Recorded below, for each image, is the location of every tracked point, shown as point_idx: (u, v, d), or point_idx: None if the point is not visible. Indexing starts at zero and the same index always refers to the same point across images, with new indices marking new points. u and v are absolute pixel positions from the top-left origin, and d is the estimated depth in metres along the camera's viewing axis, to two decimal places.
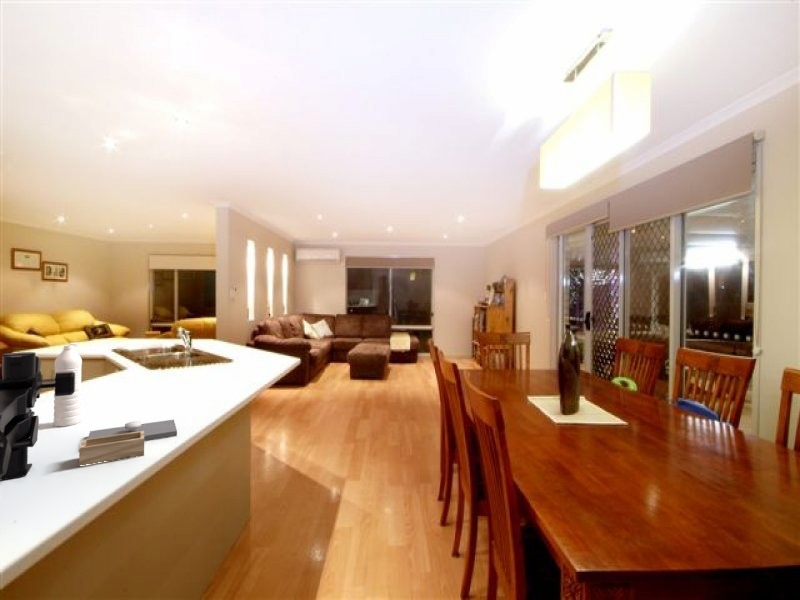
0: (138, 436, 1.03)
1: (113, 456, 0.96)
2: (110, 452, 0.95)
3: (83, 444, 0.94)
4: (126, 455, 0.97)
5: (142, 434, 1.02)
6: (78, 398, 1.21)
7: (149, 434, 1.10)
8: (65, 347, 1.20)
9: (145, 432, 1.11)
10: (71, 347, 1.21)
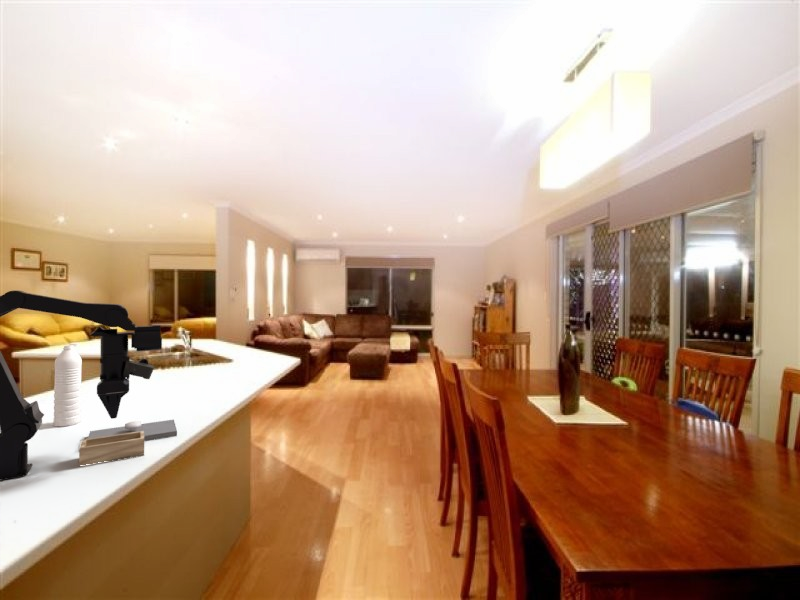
0: (138, 436, 1.03)
1: (113, 456, 0.96)
2: (110, 452, 0.95)
3: (83, 444, 0.94)
4: (126, 455, 0.97)
5: (142, 434, 1.02)
6: (78, 398, 1.21)
7: (149, 434, 1.10)
8: (65, 347, 1.20)
9: (145, 432, 1.11)
10: (71, 347, 1.21)
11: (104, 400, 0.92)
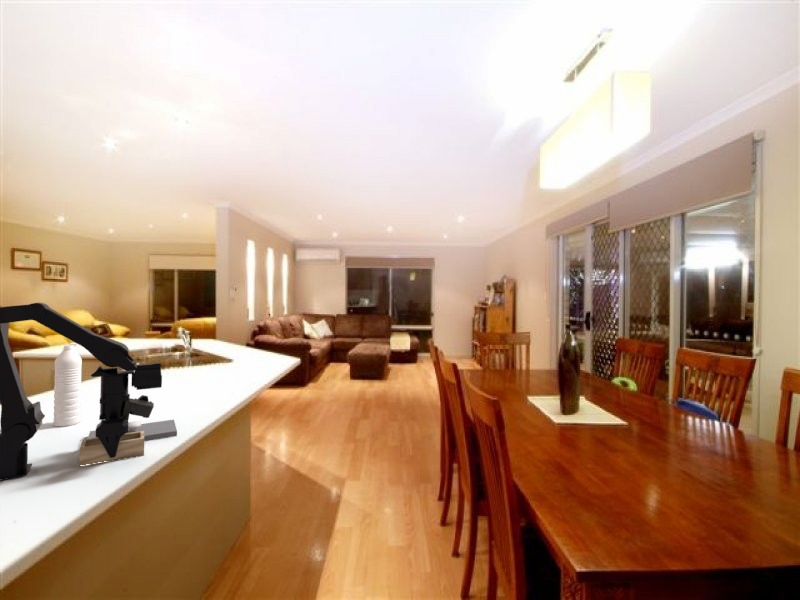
0: (138, 436, 1.03)
1: None
2: None
3: (83, 444, 0.94)
4: (126, 455, 0.97)
5: (142, 434, 1.02)
6: (78, 398, 1.21)
7: (149, 434, 1.10)
8: (65, 347, 1.20)
9: (145, 432, 1.11)
10: (71, 347, 1.21)
11: (103, 440, 0.93)
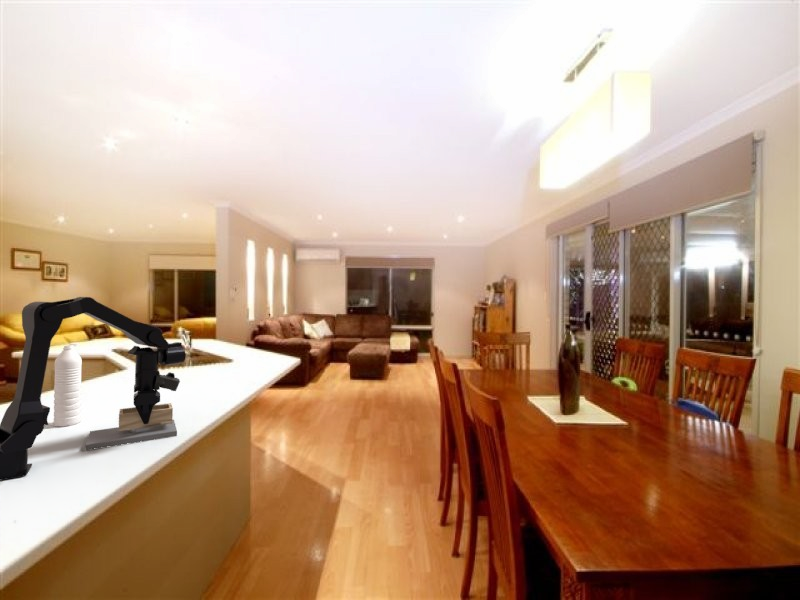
0: (166, 407, 1.19)
1: None
2: None
3: (121, 412, 1.10)
4: (157, 422, 1.13)
5: (170, 405, 1.17)
6: (78, 398, 1.21)
7: (149, 434, 1.10)
8: (65, 347, 1.20)
9: (145, 432, 1.11)
10: (71, 347, 1.21)
11: (139, 408, 1.09)
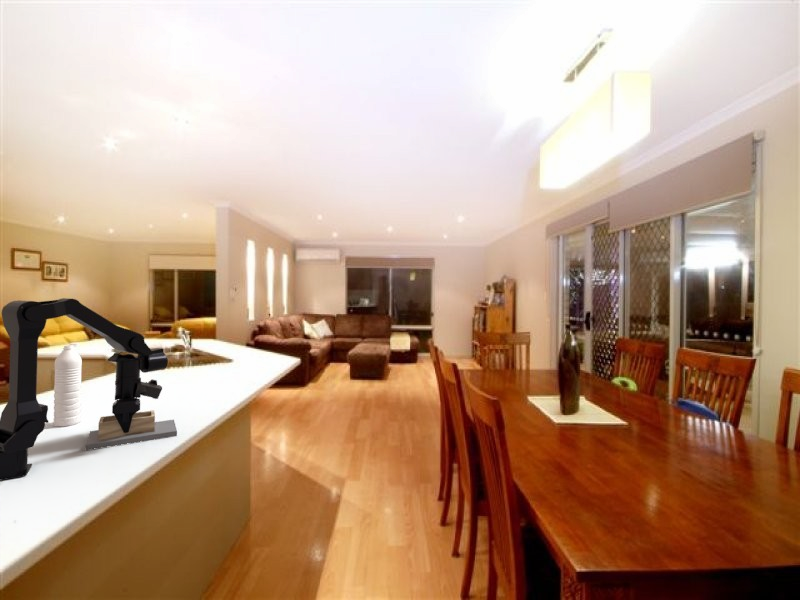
0: (149, 415, 1.16)
1: None
2: None
3: (101, 420, 1.07)
4: (139, 430, 1.10)
5: (152, 413, 1.15)
6: (78, 398, 1.21)
7: (149, 434, 1.10)
8: (65, 347, 1.20)
9: None
10: (71, 347, 1.21)
11: (118, 417, 1.06)
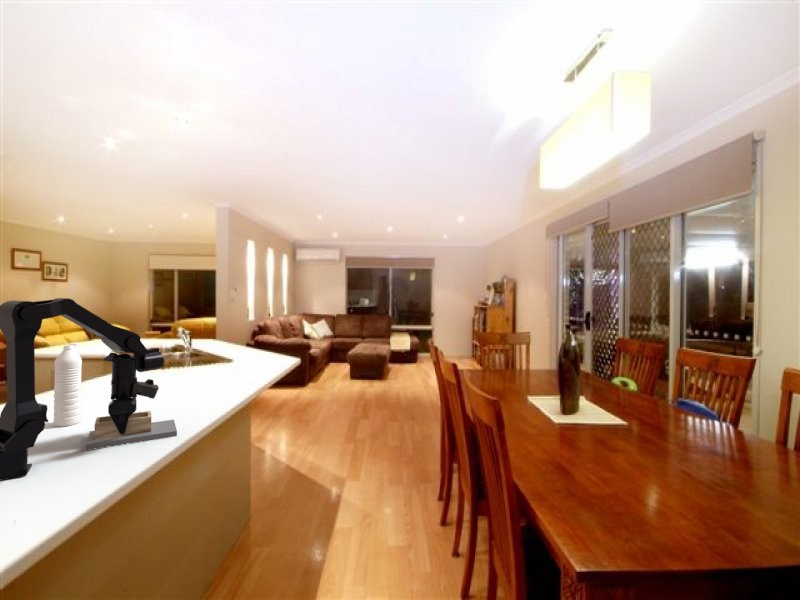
0: (145, 415, 1.16)
1: None
2: None
3: (98, 421, 1.07)
4: (135, 431, 1.10)
5: (149, 413, 1.14)
6: (78, 398, 1.21)
7: (149, 434, 1.10)
8: (65, 347, 1.20)
9: None
10: (71, 347, 1.21)
11: (114, 418, 1.04)
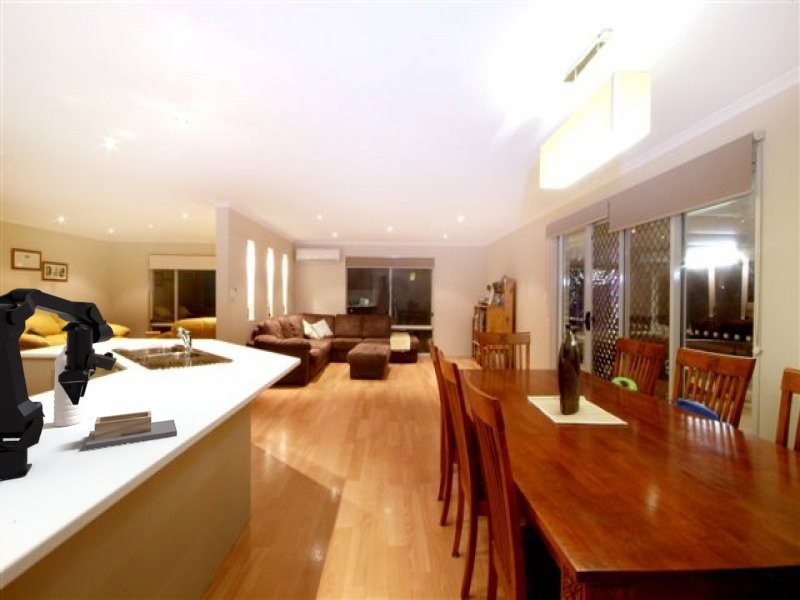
0: (145, 415, 1.16)
1: (124, 432, 1.08)
2: (121, 428, 1.08)
3: (98, 421, 1.07)
4: (135, 431, 1.10)
5: (149, 413, 1.14)
6: None
7: (149, 434, 1.10)
8: (65, 347, 1.20)
9: None
10: None
11: (66, 388, 1.03)
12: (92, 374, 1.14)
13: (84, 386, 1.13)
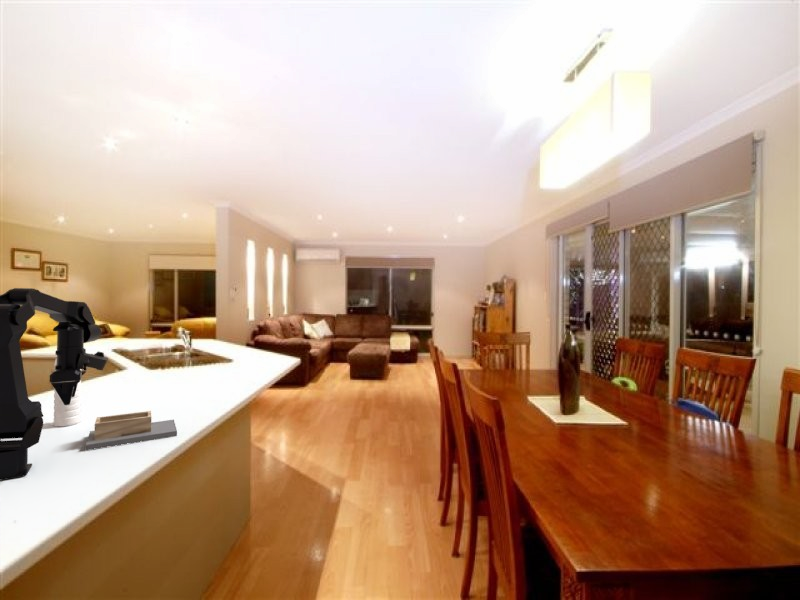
0: (145, 415, 1.16)
1: (124, 432, 1.08)
2: (121, 428, 1.08)
3: (98, 421, 1.07)
4: (135, 431, 1.10)
5: (149, 413, 1.14)
6: (78, 398, 1.21)
7: (149, 434, 1.10)
8: None
9: None
10: None
11: (57, 388, 1.02)
12: (82, 374, 1.14)
13: (74, 386, 1.13)
